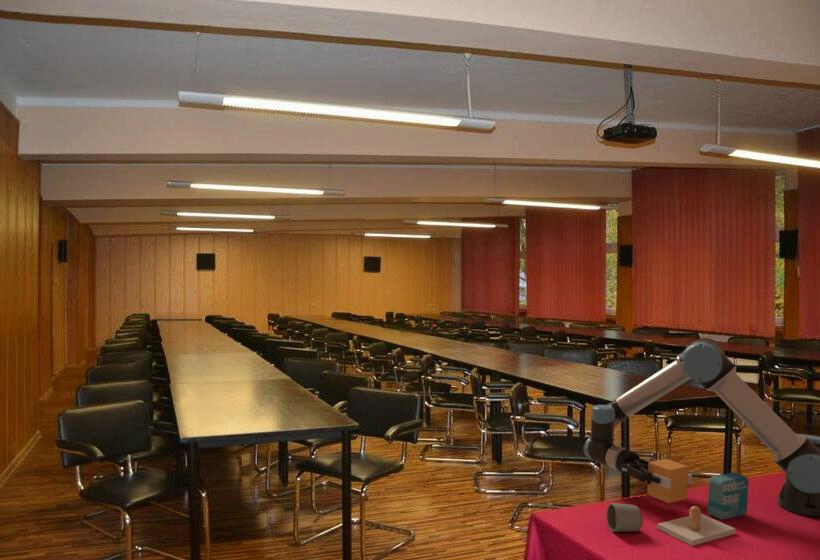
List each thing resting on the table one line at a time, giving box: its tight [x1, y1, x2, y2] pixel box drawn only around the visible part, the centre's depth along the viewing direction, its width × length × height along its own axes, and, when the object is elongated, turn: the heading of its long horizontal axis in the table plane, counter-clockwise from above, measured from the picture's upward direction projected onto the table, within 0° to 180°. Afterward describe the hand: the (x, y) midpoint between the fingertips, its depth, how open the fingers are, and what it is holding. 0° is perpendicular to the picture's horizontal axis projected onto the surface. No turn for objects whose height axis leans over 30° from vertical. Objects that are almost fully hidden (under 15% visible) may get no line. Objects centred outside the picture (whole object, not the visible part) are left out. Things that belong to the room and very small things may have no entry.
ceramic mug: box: [606, 502, 644, 533], centre depth 196 cm, size 11×8×8 cm
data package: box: [707, 472, 750, 521], centre depth 208 cm, size 12×4×12 cm, turn 115°
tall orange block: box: [646, 458, 689, 504], centre depth 208 cm, size 8×8×10 cm
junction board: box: [656, 505, 736, 547], centre depth 195 cm, size 18×12×8 cm, turn 119°
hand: (680, 482), depth 204 cm, fingers closed on tall orange block, 8 cm apart
